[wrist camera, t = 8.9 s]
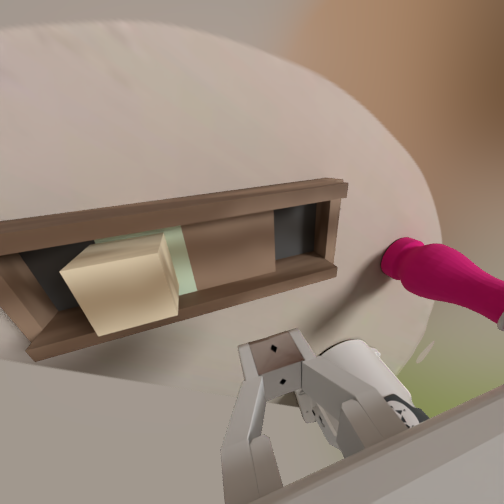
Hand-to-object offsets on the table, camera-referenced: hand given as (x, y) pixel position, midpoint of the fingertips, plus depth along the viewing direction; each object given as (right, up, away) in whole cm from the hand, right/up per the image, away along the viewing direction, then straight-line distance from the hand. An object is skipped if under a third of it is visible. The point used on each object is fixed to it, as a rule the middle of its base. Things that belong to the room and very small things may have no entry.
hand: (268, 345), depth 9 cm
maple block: (-10, +3, +6) cm, 12 cm away
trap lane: (-6, +5, +10) cm, 13 cm away
